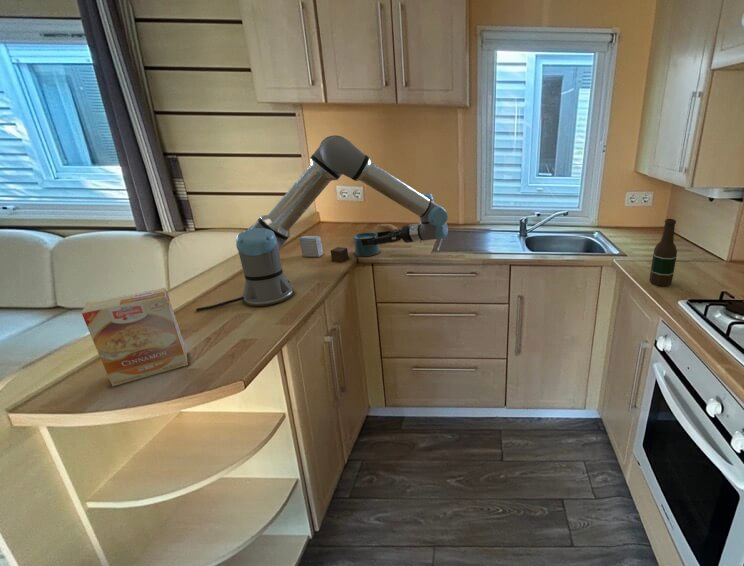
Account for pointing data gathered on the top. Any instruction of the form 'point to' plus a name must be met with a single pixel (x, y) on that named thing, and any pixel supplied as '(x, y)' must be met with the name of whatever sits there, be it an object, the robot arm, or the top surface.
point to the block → (339, 254)
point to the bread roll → (384, 228)
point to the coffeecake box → (135, 335)
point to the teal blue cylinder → (366, 249)
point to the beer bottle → (664, 257)
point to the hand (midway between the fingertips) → (370, 238)
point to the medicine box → (311, 246)
